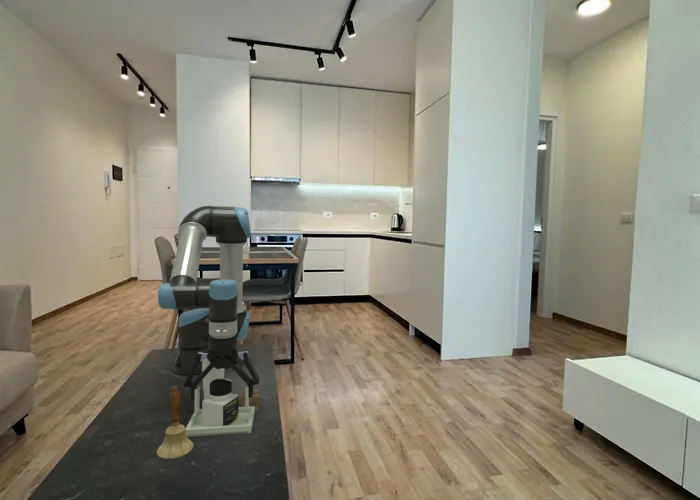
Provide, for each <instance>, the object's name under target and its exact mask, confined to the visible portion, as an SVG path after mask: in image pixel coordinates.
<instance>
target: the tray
mask: <svg viewBox="0 0 700 500" xmlns="http://www.w3.org/2000/svg"><path fill="white" fill-rule="evenodd" d="M255 413H256V412H255V406H249V408H248V410H245V407H241V406H238V419H237V420H236V421H234V422H233V423H232V424H230V425H229V426H212V427H207V426H203V425H202V408H200V409H199V411H198V413H195V410H194V412H193V413H192V415H191V418H190V419H189V421H188V424H187V425H186V427H185V430H186V435H187V438H198V437H211V436H213V437H214V436H227V435H228V436H230V435H242V434H243V435H244V434H245V435H246V434H252V430H253V425H254V418H255Z"/></svg>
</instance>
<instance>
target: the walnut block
mask: <svg viewBox="0 0 700 500" xmlns="http://www.w3.org/2000/svg"><path fill="white" fill-rule="evenodd" d="M260 392H261V390H260V389H257V388H256V389H253V396H252V397H249V406H255V413H259V409H260V399H261V398H260V397H261V396H260V394H261V393H260ZM245 395H246V389H243V390H242V394H241V399H240V403H241V405H240V407H245Z"/></svg>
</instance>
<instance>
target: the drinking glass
mask: <svg viewBox="0 0 700 500" xmlns="http://www.w3.org/2000/svg"><path fill="white" fill-rule="evenodd" d="M209 364H210V362H209V360H208V359H207V358H205V359H204V361H202V372H203V371H204V370H205V369H206V367H207V366H208V365H209ZM225 370H226V369H223V368H221V369H216V368H214V367H213V368H212V370H211V371H210V372H209V373H208V374H207V375H206V376H205V377H204V378H203V380H202V385H203V387H202V389H203V400H205V399H206V398H208V397H210V383H211V381H213V380H215V379H218V378H225Z"/></svg>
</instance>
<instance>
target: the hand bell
mask: <svg viewBox="0 0 700 500" xmlns="http://www.w3.org/2000/svg"><path fill="white" fill-rule="evenodd" d="M180 392H181V391H180V389H179V388H178V385H174V386H172V387H171V390H170V393H169V397H168V398H169V399H168V403H169V407H170V411H171V425H170V426H168V427H166V430H165V434H164V438H163V439H164V440H163V441H162V444H161V445H159V447H158V448H157V450H156V456H158V458H160V459H164V460H173V459H178V458H182V457H184V456H185V455H187V454H189V453H190V452H191V451H192V450H194V449H193V448H194V443H193V442H192V440H191V439H189V437H187V435H186V430H185V429H186V427H185V425H184V424H181V423H180V416H179V415H180V414H179V409H180V406H181V398H182V397H181V393H180Z"/></svg>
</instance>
